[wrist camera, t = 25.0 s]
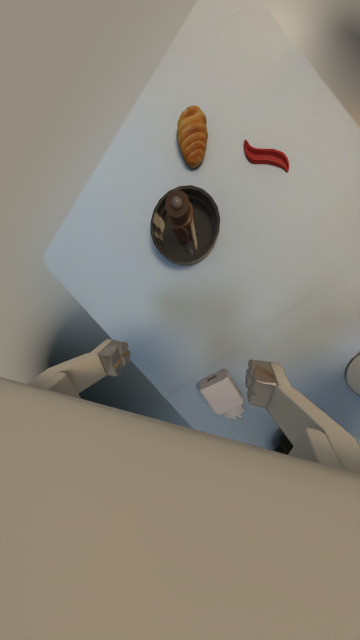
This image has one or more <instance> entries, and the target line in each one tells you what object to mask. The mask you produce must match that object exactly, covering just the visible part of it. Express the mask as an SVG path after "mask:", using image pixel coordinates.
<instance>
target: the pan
mask: <svg viewBox="0 0 360 640" xmlns="http://www.w3.org/2000/svg"><path fill="white" fill-rule="evenodd" d="M176 190H180V191H183V192H184V193H185V194H186V195H187V196H188V199H189V202H190V203H191V205H192V207H193V213H194V220H195V228H196V236H195V238H194V240H193V241H192V242H190V243H188V244H183V243H181V242H179V241H178V239H177V237H176V235H175V233H174V231H173V229H172V227H171V225H170V223H169V221H168V219H167V211H166V208H165V202H166V199H167V197H168V195H169V194H170V193H171V192H173V191H176ZM219 226H220V216H219V211H218V207H217V205H216V203H215V202H214V200H213V198H212V197H211V196H210V195H209V194H208V193H207V192H205V191H204V190H203V189H201V188H198V187H195V186H191V185H190V186H179V187H177V188H175V189H173V190H170V191H169V192H167V193H166V194H165V195H164V196H163V197H162V198H161V199H160V200H159V202H158V204H157V205H156V207H155V209H154V211H153V215H152V219H151V236H152V239H153V242H154V245H155V246H156V248H157V249H158V251H159V252H160V254H162V255H163V256H164V257H165V258H166V259H168V260H169V261H170V262H172V263H174V264H177V265H180V266H189V265H193V264H196V263H199V262H200V261H202V260H203V259H204V258H206V257H207V256H208V255H209V253H210V252H211V251H212V249H213V248H214V245H215V243H216V240H217V237H218V233H219Z"/></svg>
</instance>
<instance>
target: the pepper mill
mask: <svg viewBox="0 0 360 640" xmlns="http://www.w3.org/2000/svg"><path fill="white" fill-rule="evenodd" d="M165 208H166V211H167V219H168V221H169V223H170V225H171V227H172V229H173V231H174V233H175V235H176V237H177V239H178V241H179V242H181V243H183V244H188V243H190V242H192V241H193V240H194V238H195V236H196V228H195V220H194V213H193V207H192V205H191V203H190V202H189V199H188V196H187V195H186V194H185V193H184V192H183V191H180V190H176V191H173V192H171V193H170V194H169V195H168V197H167V199H166V202H165Z"/></svg>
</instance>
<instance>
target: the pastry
mask: <svg viewBox="0 0 360 640" xmlns="http://www.w3.org/2000/svg"><path fill="white" fill-rule="evenodd" d="M207 138H208V134H207V128H206V116H205V114H204V113H203V112H202V110H201V109H200V108H199V107H198V106H190V107H188V108H187V109H186V110H185V111H184V112H182V114H181V115H180V118H179V120H178V130H177V139H178V143H179V147H180V150H181V152H182V155H183V157H184V160H185V162H186V164H187V165H188V166H189V167H190V168H196V167H198V166H199V165H200V164H201V162H202V161H203V159H204V155H205V150H206V143H207Z"/></svg>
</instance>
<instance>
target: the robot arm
mask: <svg viewBox="0 0 360 640" xmlns="http://www.w3.org/2000/svg"><path fill="white" fill-rule="evenodd" d="M127 348H128V344H127V343H126V342H122V341H116V340H109V339H108V340H105V341H104V342H103V343H102V344H100V345H99V346H98V347H97V348H96V349H94V350H93V351H92V352H91V353H86V354H84V355H81V356H79V357H76V358H74V359H71V360H69V361H66V362H64V363H61V364H59V365H56V366H54V367H51V368H48V369H47V370H46V371H44V372H43V373H41V374H40V375H39V376H37V377H36V378H35V379H33V380H32V381H30V382H29V383H28V384H24V383H20V382H17V381H13V380H9V379H6V378H2V377H0V640H360V446H359V444H358V443H357V441H356V440H355V438H354V437H353V436H352V435H351V434H349V433H348V432H347V431H346V430H345V429H343V428H342V427H341V426H340V425H339V424H337V423H336V422H335V421H334V420H333V419H331V418H330V417H329V416H328V415H326V414H325V413H324V412H323V411H322V410H320V409H319V408H318V407H317V406H316V405H314V404H313V403H312V402H311V401H310V400H308V399H307V398H306V397H305V396H304V395H302V394H301V393H300V392H299V391H297V390H296V389H295V388H291V385H290V383H289V381H288V379H287V377H286V375H285V373H284V371H283V369H282V366H281V364H280V363H275V362H266V361H258V360H251V359H250V360H249V362H248V368H249V369H247V370H246V376H245V382H246V387H247V388H248V392H247V395H248V401H249V404H251V405H255V406H259V407H263V408H266V409H267V411H268V412H269V414H270V415H271V416H272V418H273V419H274V420H275V422H276V423H277V424H278V426H279V427H280V428H281V430H282V431H283V432H284V434H285V435H286V436H287V438H288V439H289V440H290V442H291V443H292V444H293V446H294V447H293V448H292V450H291V451H290V453H289V454H288V455H286V454H283V453H279V452H275V451H272V450H268V449H264V448H261V447H257V446H253V445H250V444H246V443H242V442H238V441H235V440H231V439H227V438H224V437H220V436H216V435H213V434H209V433H205V432H201V431H198V430H194V429H190V428H186V427H183V426H179V425H176V424H172V423H168V422H164V421H161V420H157V419H153V418H150V417H146V416H142V415H138V414H135V413H131V412H127V411H124V410H120V409H116V408H113V407H109V406H105V405H102V404H98V403H94V402H90V401H86V400H83V399H80V397H79V395H78V393H80V392H81V391H83V390H84V389H86V388H88V387H89V386H91V385H92V384H94V383H95V382H97V381H98V380H100V379H101V378H103V377H105V376H106V375H111V376H118V375H119V374H120V372H121V371H122V370H123V366H125V365H127V363H128V362H129V360H130V351H129V350H128V349H127ZM346 378H347V382H348V385H349V386H350V388H351V389H352V390H353V391H354V392H355V393H357V394H359V395H360V355H358V356H357V357H356V358H355V359H354V360H353V361H352V362H351V363H350V365H349V367H348V369H347V374H346Z"/></svg>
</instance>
